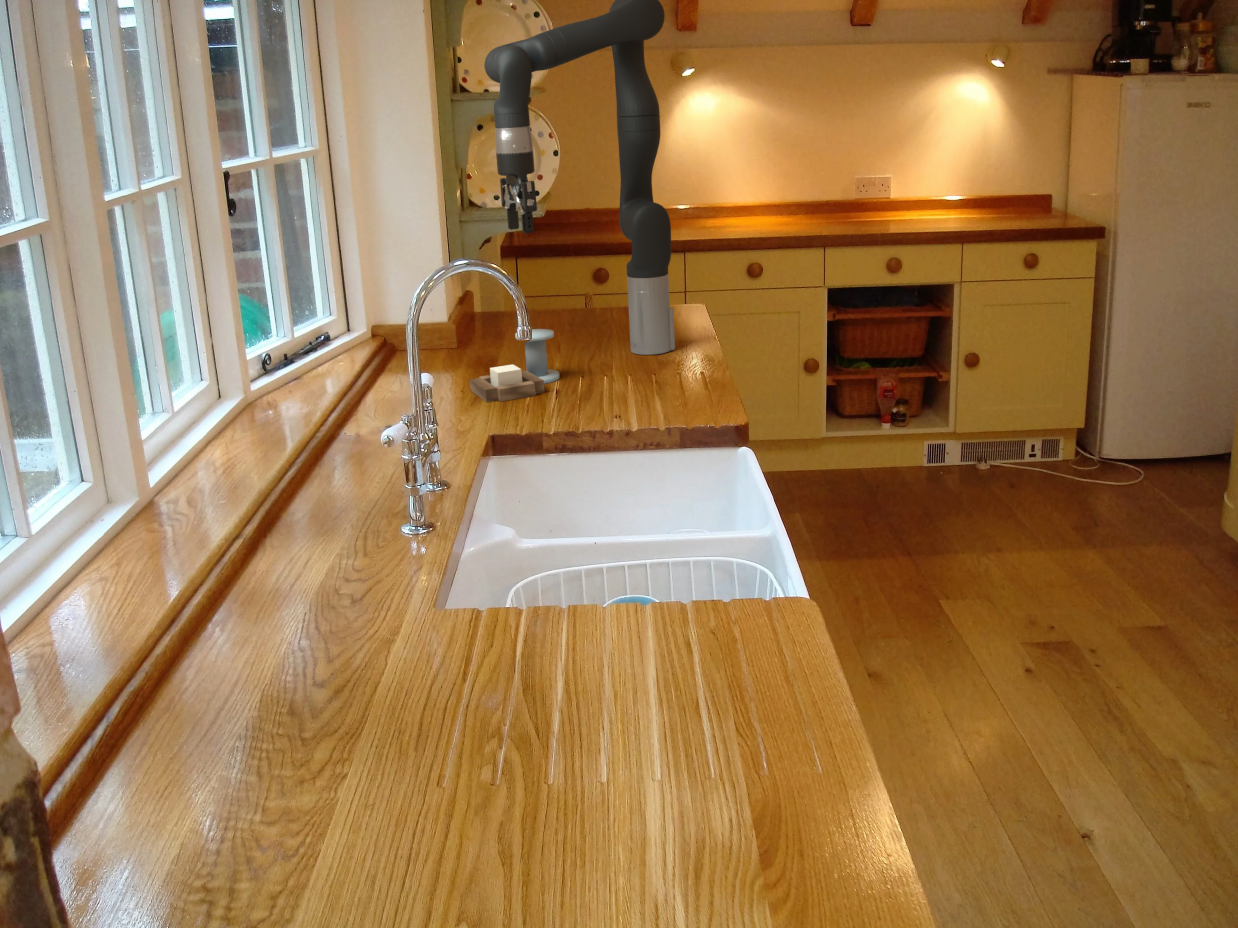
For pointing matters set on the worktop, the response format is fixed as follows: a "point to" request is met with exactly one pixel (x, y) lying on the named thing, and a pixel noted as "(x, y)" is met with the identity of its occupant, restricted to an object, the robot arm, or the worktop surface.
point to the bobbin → (539, 355)
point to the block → (505, 375)
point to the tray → (507, 388)
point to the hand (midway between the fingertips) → (520, 231)
